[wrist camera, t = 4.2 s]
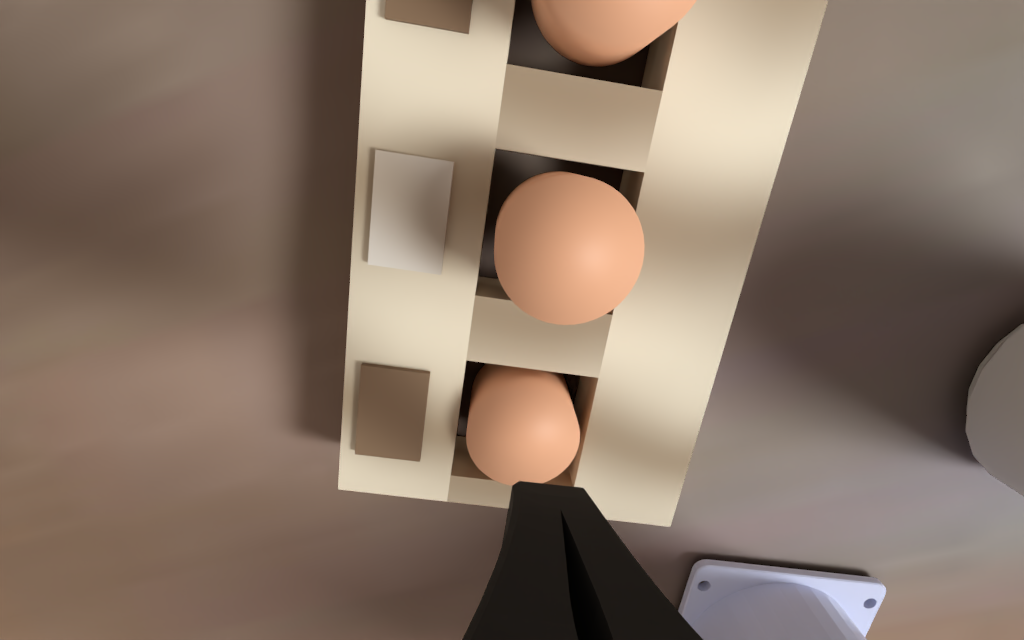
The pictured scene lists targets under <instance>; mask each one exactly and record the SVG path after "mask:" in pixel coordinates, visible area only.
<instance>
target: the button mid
mask: <svg viewBox="0 0 1024 640" xmlns="http://www.w3.org/2000/svg"><path fill="white" fill-rule="evenodd" d="M644 248H645V244H644V235H643V230H642V226H641V223H640V221H639V218H638V216H637V214H636V212H635V210H634V209H633V207H632V206H631V204H630V203H629V202H628V200H627V199H626V198H625V197H624V196H623V195H622V194H621V193H620V192H618V191H617V190H616V189H614V188H613V187H611V186H610V185H608V184H606V183H604V182H602V181H599V180H597V179H594V178H590V177H586V176H582V175H578V174H574V173H570V172H563V171H553V172H546V173H542V174H539V175H535V176H533V177H531V178H529V179H527V180H526V181H524V182H523V183H521V184H520V185H519V186H517V187H516V188H515V189H514V190H513V191H512V192H511V193H510V194H509V196H508V197H507V198H506V200H505V201H504V203H503V205H502V207H501V209H500V211H499V214H498V217H497V221H496V227H495V243H494V262H495V267H496V272H497V275H498V278H499V281H500V283H501V285H502V287H503V289H504V291H505V292H506V294H507V295H508V297H509V298H510V299H511V300H512V301H513V302H514V304H515V305H517V306H518V307H519V308H520V309H521V310H522V311H524V312H525V313H527V314H528V315H530V316H532V317H534V318H536V319H538V320H541V321H544V322H547V323H552V324H558V325H575V324H581V323H586V322H589V321H592V320H595V319H597V318H599V317H602V316H603V315H605V314H607V313H608V312H610V311H611V310H613V309H614V308H615V307H617V306H618V305H619V304H620V303H621V302H622V301H623V300H624V299H625V298H626V296H627V295H628V294H629V293H630V291H631V290H632V288H633V287H634V285H635V283H636V281H637V279H638V277H639V274H640V271H641V268H642V265H643V259H644Z"/></svg>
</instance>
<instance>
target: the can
mask: <svg viewBox="0 0 1024 640" xmlns="http://www.w3.org/2000/svg"><path fill="white" fill-rule="evenodd" d="M965 431H966V434H967V437H968V440H969V444H970V447H971V450H972V454H973V456H974V457H975V458H976V459H977V460H978V461H979V463H980V464H981V465H982V466H983V467H984V468H985V469H986V470H987V471H988V473H989V474H990V475H992V476H993V477H995V478H996V479H998V480H1000V481H1001V482H1003V483H1004V484H1006V485H1007V486H1009V487H1010V488H1012V489H1013V490H1015V491H1016V492H1018V493H1020V494H1021V495H1023V496H1024V324H1021V325H1020V326H1018V327H1017V328H1016V329H1015V330H1013V331H1012V332H1011V333H1009V334H1008V335H1007V336H1006V337H1004V338H1003V339H1002V340H1000V341H999V342H998V343H997V344H996V345H995V346H994V347H993V349H992V350H991V351H990V352H989V354H988V355H987V356H986V357H985V359H984V360H983V361H982V363H981V364H980V365H979V367H978V369H977V371H976V374H975V376H974V378H973V381H972V383H971V385H970V387H969V391H968V402H967V420H966V430H965Z"/></svg>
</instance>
